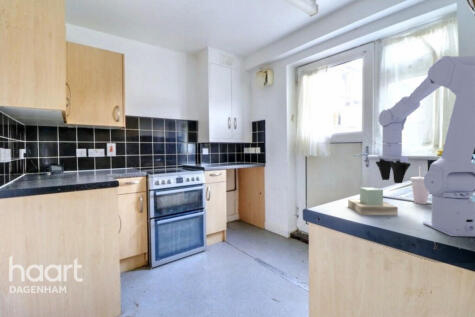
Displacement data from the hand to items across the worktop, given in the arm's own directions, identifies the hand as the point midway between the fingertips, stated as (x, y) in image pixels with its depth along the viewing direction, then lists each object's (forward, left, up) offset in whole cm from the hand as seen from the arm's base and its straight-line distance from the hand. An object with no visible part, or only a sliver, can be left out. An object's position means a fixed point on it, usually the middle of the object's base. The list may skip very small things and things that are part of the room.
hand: (391, 181), depth 81 cm
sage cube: (-4, +9, -7) cm, 12 cm away
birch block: (-4, +9, -10) cm, 14 cm away
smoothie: (+6, -14, -10) cm, 18 cm away
